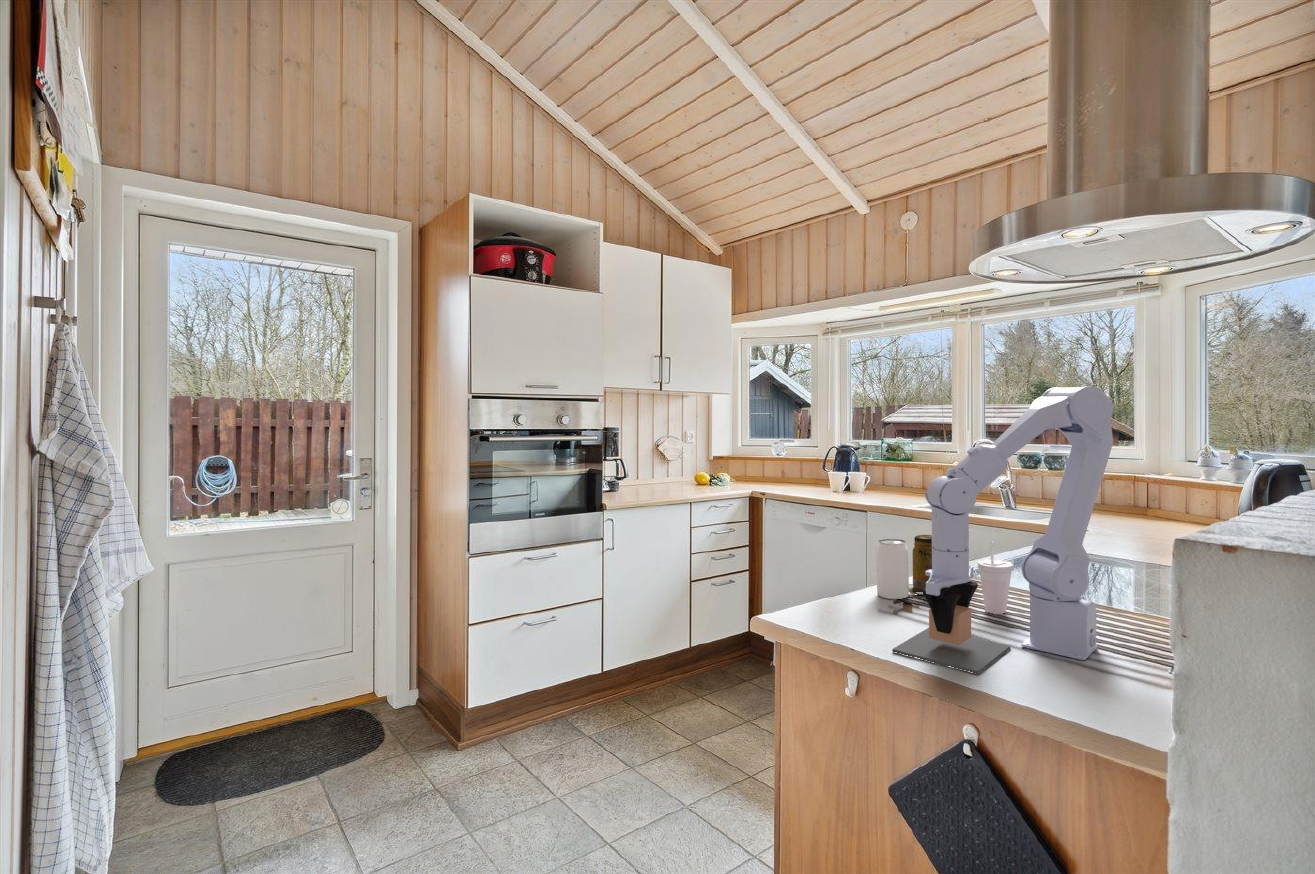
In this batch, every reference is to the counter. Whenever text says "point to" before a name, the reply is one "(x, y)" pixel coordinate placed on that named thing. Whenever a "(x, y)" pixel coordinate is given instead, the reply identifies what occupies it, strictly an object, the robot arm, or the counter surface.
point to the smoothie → (995, 583)
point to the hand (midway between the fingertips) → (950, 627)
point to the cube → (953, 627)
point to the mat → (953, 652)
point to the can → (892, 569)
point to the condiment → (921, 562)
